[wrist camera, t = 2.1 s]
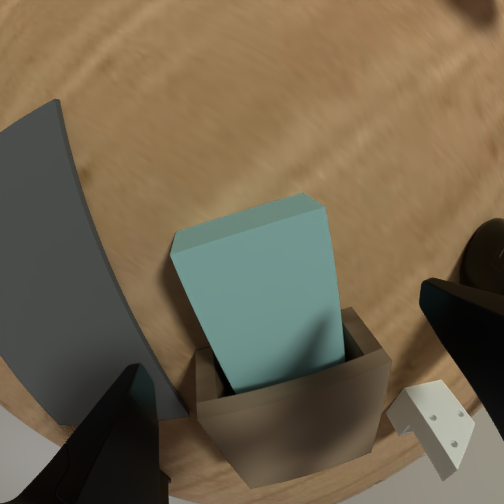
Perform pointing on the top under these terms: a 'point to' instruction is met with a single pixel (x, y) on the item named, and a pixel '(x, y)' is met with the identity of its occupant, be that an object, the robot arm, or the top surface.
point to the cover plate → (265, 291)
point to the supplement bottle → (485, 259)
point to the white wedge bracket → (433, 423)
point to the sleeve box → (297, 412)
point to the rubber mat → (62, 281)
